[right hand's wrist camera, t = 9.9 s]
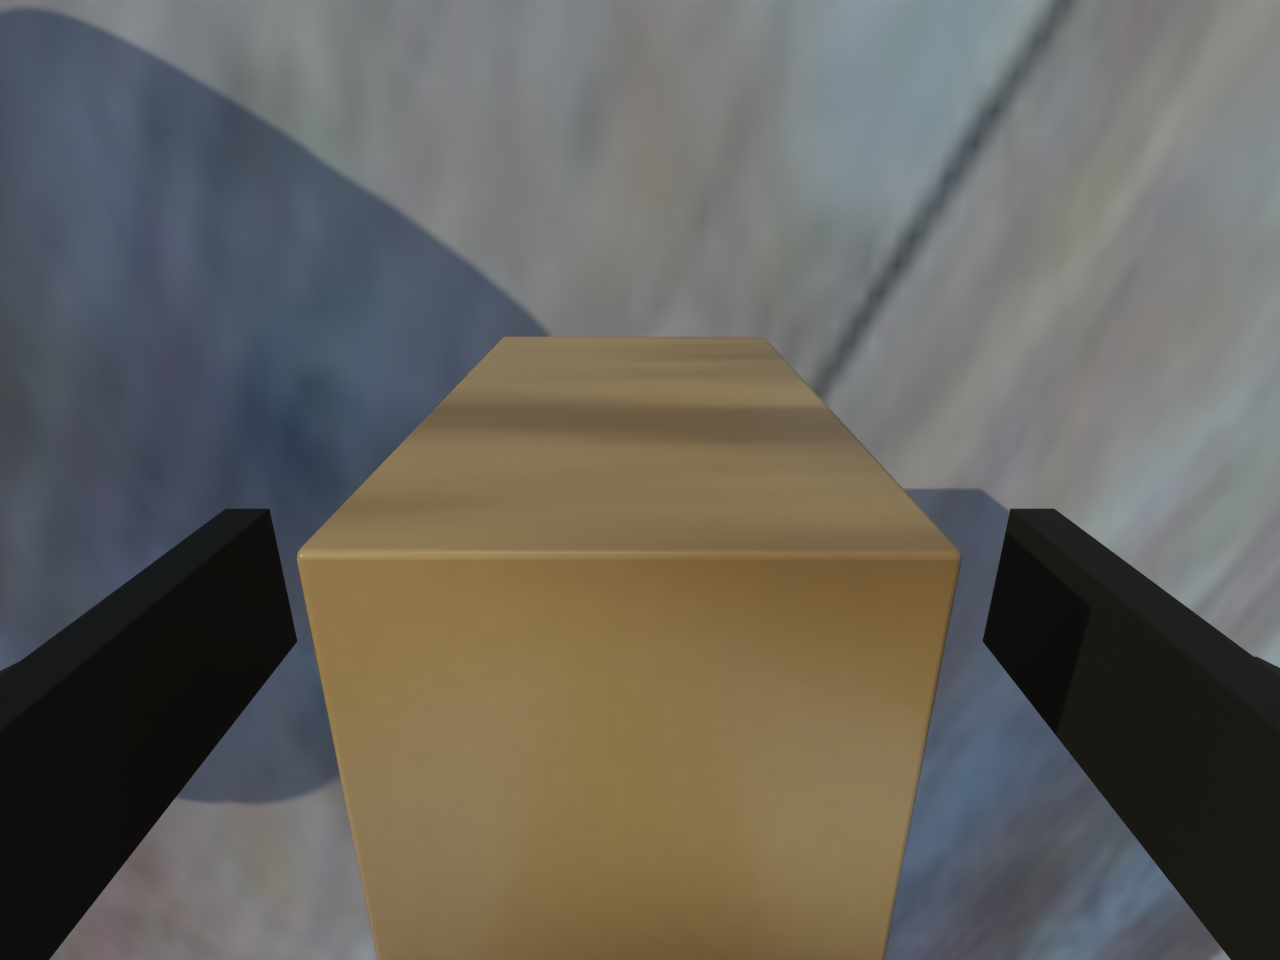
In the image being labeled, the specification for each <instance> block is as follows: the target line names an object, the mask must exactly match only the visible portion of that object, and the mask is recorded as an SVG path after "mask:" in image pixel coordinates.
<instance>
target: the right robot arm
mask: <svg viewBox="0 0 1280 960" xmlns="http://www.w3.org/2000/svg"><path fill="white" fill-rule="evenodd" d="M296 642H297V638H296V633H295V628H294V624H293V619H292V614H291V609H290V605H289V600H288V595H287V590H286V586H285V581H284V576H283V571H282V567H281V562H280V557H279V552H278V548H277V543H276V538H275V533H274V529H273V524H272V519H271V514H270V510H269V509H225V510H224V511H222V512H221V513H220V514H218V515H217V516H215V517H214V518H213V519H211V520H210V521H209V522H207V523H206V524H205V525H203V526H202V527H201V528H199V529H198V530H197V531H195V532H194V533H193V534H191V535H190V536H189V537H187V538H186V539H184V540H183V541H182V542H180V543H179V544H178V545H176V546H175V547H174V548H172V549H171V550H170V551H168V552H167V553H166V554H164V555H163V556H162V557H160V558H159V559H158V560H156V561H155V562H153V563H152V564H151V565H149V566H148V567H147V568H145V569H144V570H143V571H141V572H140V573H139V574H137V575H136V576H135V577H133V578H132V579H131V580H129V581H128V582H127V583H125V584H124V585H122V586H121V587H120V588H118V589H117V590H116V591H114V592H113V593H112V594H110V595H109V596H108V597H106V598H105V599H104V600H102V601H101V602H100V603H98V604H97V605H96V606H94V607H93V608H91V609H90V610H89V611H87V612H86V613H85V614H83V615H82V616H81V617H79V618H78V619H77V620H75V621H74V622H73V623H71V624H70V625H69V626H67V627H66V628H65V629H63V630H62V631H60V632H59V633H58V634H56V635H55V636H54V637H52V638H51V639H50V640H48V641H47V642H46V643H44V644H43V645H42V646H40V647H39V648H38V649H36V650H35V651H34V652H32V653H31V654H29V655H28V656H27V657H25V658H24V659H23V660H21V661H20V662H18V663H16V664H14V665H12V666H10V667H8V668H6V669H4V670H2V671H0V960H49V959H50V958H51V957H52V955H53V954H54V953H55V951H56V950H57V949H58V948H59V946H60V945H61V944H62V942H63V941H64V940H65V939H66V937H67V936H68V935H69V933H70V932H71V931H72V930H73V928H74V927H75V926H76V924H77V923H78V922H79V921H80V919H81V918H82V917H83V915H84V914H85V913H86V912H87V910H88V909H89V908H90V906H91V905H92V904H93V903H94V901H95V900H96V899H97V897H98V896H99V895H100V894H101V892H102V891H103V890H104V889H105V887H106V886H107V885H108V883H109V882H110V881H111V880H112V878H113V877H114V876H115V874H116V873H117V872H118V871H119V869H120V868H121V867H122V865H123V864H124V863H125V862H126V860H127V859H128V858H129V856H130V855H131V854H132V853H133V851H134V850H135V849H136V847H137V846H138V845H139V844H140V842H141V841H142V840H143V838H144V837H145V836H146V835H147V833H148V832H149V831H150V830H151V828H152V827H153V826H154V824H155V823H156V822H157V821H158V819H159V818H160V817H161V815H162V814H163V813H164V812H165V810H166V809H167V808H168V806H169V805H170V804H171V803H172V801H173V800H174V799H175V797H176V796H177V795H178V794H179V792H180V791H181V790H182V788H183V787H184V786H185V785H186V783H187V782H188V781H189V779H190V778H191V777H192V776H193V774H194V773H195V772H196V770H197V769H198V768H199V767H200V765H201V764H202V763H203V762H204V760H205V759H206V758H207V756H208V755H209V754H210V753H211V751H212V750H213V749H214V747H215V746H216V745H217V744H218V742H219V741H220V740H221V738H222V737H223V736H224V735H225V733H226V732H227V731H228V729H229V728H230V727H231V726H232V724H233V723H234V722H235V720H236V719H237V718H238V717H239V715H240V714H241V713H242V711H243V710H244V709H245V708H246V706H247V705H248V704H249V703H250V701H251V700H252V699H253V697H254V696H255V695H256V694H257V692H258V691H259V690H260V688H261V687H262V686H263V685H264V683H265V682H266V681H267V679H268V678H269V677H270V676H271V674H272V673H273V672H274V670H275V669H276V668H277V667H278V665H279V664H280V663H281V661H282V660H283V659H284V658H285V656H286V655H287V654H288V652H289V651H290V650H291V649H292V647H293V646H294V645H295V644H296ZM983 642H984V643H985V645H986V646H987V647H988V649H989V650H990V651H991V652H992V654H993V655H994V656H995V658H996V659H997V660H998V661H999V663H1000V664H1001V665H1002V667H1003V668H1004V669H1005V670H1006V672H1007V673H1008V674H1009V676H1010V677H1011V678H1012V679H1013V681H1014V682H1015V683H1016V685H1017V686H1018V687H1019V688H1020V690H1021V691H1022V692H1023V694H1024V695H1025V696H1026V697H1027V699H1028V700H1029V701H1030V703H1031V704H1032V705H1033V706H1034V708H1035V709H1036V710H1037V711H1038V713H1039V714H1040V715H1041V717H1042V718H1043V719H1044V720H1045V722H1046V723H1047V724H1048V726H1049V727H1050V728H1051V729H1052V731H1053V732H1054V733H1055V735H1056V736H1057V737H1058V738H1059V740H1060V741H1061V742H1062V744H1063V745H1064V746H1065V747H1066V749H1067V750H1068V751H1069V753H1070V754H1071V755H1072V756H1073V758H1074V759H1075V760H1076V762H1077V763H1078V764H1079V765H1080V767H1081V768H1082V769H1083V770H1084V772H1085V773H1086V774H1087V776H1088V777H1089V778H1090V779H1091V781H1092V782H1093V783H1094V785H1095V786H1096V787H1097V788H1098V790H1099V791H1100V792H1101V794H1102V795H1103V796H1104V797H1105V799H1106V800H1107V801H1108V803H1109V804H1110V805H1111V806H1112V808H1113V809H1114V810H1115V812H1116V813H1117V814H1118V815H1119V817H1120V818H1121V819H1122V821H1123V822H1124V823H1125V824H1126V826H1127V827H1128V828H1129V829H1130V831H1131V832H1132V833H1133V835H1134V836H1135V837H1136V838H1137V840H1138V841H1139V842H1140V844H1141V845H1142V846H1143V847H1144V849H1145V850H1146V851H1147V853H1148V854H1149V855H1150V856H1151V858H1152V859H1153V860H1154V862H1155V863H1156V864H1157V865H1158V867H1159V868H1160V869H1161V871H1162V872H1163V873H1164V874H1165V876H1166V877H1167V878H1168V880H1169V881H1170V882H1171V883H1172V885H1173V886H1174V887H1175V889H1176V890H1177V891H1178V892H1179V894H1180V895H1181V896H1182V897H1183V899H1184V900H1185V901H1186V903H1187V904H1188V905H1189V906H1190V908H1191V909H1192V910H1193V912H1194V913H1195V914H1196V915H1197V917H1198V918H1199V919H1200V921H1201V922H1202V923H1203V924H1204V926H1205V927H1206V928H1207V930H1208V931H1209V932H1210V933H1211V935H1212V936H1213V937H1214V939H1215V940H1216V941H1217V942H1218V944H1219V945H1220V946H1221V948H1222V949H1223V950H1224V951H1225V953H1226V954H1227V955H1228V956H1229V958H1230V959H1231V960H1280V668H1279V667H1277V666H1275V665H1273V664H1271V663H1269V662H1267V661H1265V660H1262V659H1260V658H1258V657H1253V656H1252V655H1251V654H1249V653H1248V652H1247V651H1245V650H1244V649H1242V648H1241V647H1240V646H1238V645H1237V644H1236V643H1234V642H1233V641H1232V640H1230V639H1229V638H1228V637H1226V636H1225V635H1224V634H1222V633H1221V632H1220V631H1218V630H1217V629H1215V628H1214V627H1213V626H1211V625H1210V624H1209V623H1207V622H1206V621H1205V620H1203V619H1202V618H1201V617H1199V616H1198V615H1197V614H1195V613H1194V612H1193V611H1191V610H1190V609H1189V608H1187V607H1186V606H1184V605H1183V604H1182V603H1180V602H1179V601H1178V600H1176V599H1175V598H1174V597H1172V596H1171V595H1170V594H1168V593H1167V592H1166V591H1164V590H1163V589H1162V588H1160V587H1159V586H1158V585H1156V584H1155V583H1153V582H1152V581H1151V580H1149V579H1148V578H1147V577H1145V576H1144V575H1143V574H1141V573H1140V572H1139V571H1137V570H1136V569H1135V568H1133V567H1132V566H1131V565H1129V564H1128V563H1127V562H1125V561H1124V560H1122V559H1121V558H1120V557H1118V556H1117V555H1116V554H1114V553H1113V552H1112V551H1110V550H1109V549H1108V548H1106V547H1105V546H1104V545H1102V544H1101V543H1100V542H1098V541H1097V540H1096V539H1094V538H1093V537H1091V536H1090V535H1089V534H1087V533H1086V532H1085V531H1083V530H1082V529H1081V528H1079V527H1078V526H1077V525H1075V524H1074V523H1073V522H1071V521H1070V520H1069V519H1067V518H1066V517H1065V516H1063V515H1062V514H1060V513H1059V512H1058V511H1056V510H1055V509H1011V510H1010V514H1009V519H1008V524H1007V529H1006V533H1005V538H1004V543H1003V548H1002V552H1001V557H1000V562H999V567H998V571H997V576H996V581H995V586H994V590H993V595H992V600H991V605H990V609H989V614H988V619H987V624H986V628H985V633H984V638H983Z"/></svg>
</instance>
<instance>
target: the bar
mask: <svg viewBox="0 0 1280 960" xmlns="http://www.w3.org/2000/svg"><path fill="white" fill-rule="evenodd" d="M297 563H298V568H299V573H300V578H301V583H302V588H303V593H304V598H305V603H306V608H307V613H308V618H309V623H310V628H311V633H312V638H313V643H314V648H315V653H316V658H317V663H318V668H319V673H320V678H321V683H322V688H323V693H324V698H325V703H326V708H327V713H328V718H329V723H330V728H331V733H332V738H333V743H334V748H335V753H336V758H337V763H338V768H339V773H340V778H341V783H342V788H343V793H344V798H345V803H346V808H347V813H348V818H349V823H350V828H351V833H352V838H353V843H354V848H355V853H356V858H357V863H358V868H359V873H360V878H361V883H362V888H363V892H364V897H365V902H366V907H367V912H368V917H369V922H370V927H371V932H372V937H373V942H374V947H375V952H376V957H377V960H884V958H885V953H886V948H887V942H888V937H889V932H890V927H891V922H892V917H893V911H894V906H895V901H896V896H897V891H898V885H899V880H900V875H901V870H902V865H903V860H904V854H905V849H906V844H907V839H908V834H909V828H910V823H911V818H912V813H913V808H914V803H915V797H916V792H917V787H918V782H919V777H920V772H921V766H922V761H923V756H924V751H925V746H926V740H927V735H928V730H929V725H930V720H931V715H932V709H933V704H934V699H935V694H936V689H937V684H938V678H939V673H940V668H941V663H942V658H943V652H944V647H945V642H946V637H947V632H948V627H949V621H950V616H951V611H952V606H953V601H954V595H955V590H956V585H957V580H958V575H959V570H960V564H961V554H960V550H959V549H958V548H957V547H956V546H955V545H954V544H953V543H952V542H951V540H950V539H949V538H948V537H947V536H946V535H945V534H944V533H943V532H942V531H941V530H940V528H939V527H938V526H937V525H936V524H935V523H934V522H933V521H932V520H931V519H930V518H929V516H928V515H927V514H926V513H925V512H924V511H923V510H922V509H921V508H920V507H919V506H918V504H917V503H916V502H915V501H914V500H913V499H912V498H911V497H910V496H909V495H908V494H907V492H906V491H905V490H904V489H903V488H902V487H901V486H900V485H899V484H898V483H897V482H896V480H895V479H894V478H893V477H892V476H891V475H890V474H889V473H888V472H887V471H886V470H885V468H884V467H883V466H882V465H881V464H880V463H879V462H878V461H877V460H876V459H875V458H874V456H873V455H872V454H871V453H870V452H869V451H868V450H867V449H866V448H865V447H864V446H863V444H862V443H861V442H860V441H859V440H858V439H857V438H856V437H855V436H854V435H853V434H852V432H851V431H850V430H849V429H848V428H847V427H846V426H845V425H844V424H843V423H842V422H841V420H840V419H839V418H838V417H837V416H836V415H835V414H834V413H833V412H832V411H831V410H830V408H829V407H828V406H827V405H826V404H825V403H824V402H823V401H822V400H821V399H820V398H819V396H818V395H817V394H816V393H815V392H814V391H813V390H812V389H811V388H810V387H809V386H808V384H807V383H806V382H805V381H804V380H803V379H802V378H801V377H800V376H799V375H798V374H797V372H796V371H795V370H794V369H793V368H792V367H791V366H790V365H789V364H788V363H787V362H786V360H785V359H784V358H783V357H782V356H781V355H780V354H779V353H778V352H777V351H776V350H775V348H774V347H773V346H772V345H771V344H770V343H769V342H768V341H767V340H766V339H765V338H763V337H504V338H502V339H501V340H500V341H499V342H498V343H497V344H496V345H495V346H494V347H493V349H492V350H491V351H490V352H489V353H488V354H487V355H486V356H485V357H484V358H483V359H482V360H481V361H480V362H479V363H478V364H477V365H476V366H475V367H474V368H473V369H472V370H471V371H470V372H469V373H468V375H467V376H466V377H465V378H464V379H463V380H462V381H461V382H460V383H459V384H458V385H457V386H456V387H455V388H454V389H453V390H452V391H451V392H450V393H449V394H448V395H447V396H446V397H445V398H444V399H443V401H442V402H441V403H440V404H439V405H438V406H437V407H436V408H435V409H434V410H433V411H432V412H431V413H430V414H429V415H428V416H427V417H426V418H425V419H424V420H423V421H422V422H421V423H420V424H419V425H418V427H417V428H416V429H415V430H414V431H413V432H412V433H411V434H410V435H409V436H408V437H407V438H406V439H405V440H404V441H403V442H402V443H401V444H400V445H399V446H398V447H397V448H396V449H395V450H394V452H393V453H392V454H391V455H390V456H389V457H388V458H387V459H386V460H385V461H384V462H383V463H382V464H381V465H380V466H379V467H378V468H377V469H376V470H375V471H374V472H373V473H372V474H371V475H370V476H369V478H368V479H367V480H366V481H365V482H364V483H363V484H362V485H361V486H360V487H359V488H358V489H357V490H356V491H355V492H354V493H353V494H352V495H351V496H350V497H349V498H348V499H347V500H346V501H345V502H344V504H343V505H342V506H341V507H340V508H339V509H338V510H337V511H336V512H335V513H334V514H333V515H332V516H331V517H330V518H329V519H328V520H327V521H326V522H325V523H324V524H323V525H322V526H321V527H320V528H319V530H318V531H317V532H316V533H315V534H314V535H313V536H312V537H311V538H310V539H309V540H308V541H307V542H306V543H305V544H304V545H303V546H302V547H301V548H300V549H299V551H298V555H297Z"/></svg>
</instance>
